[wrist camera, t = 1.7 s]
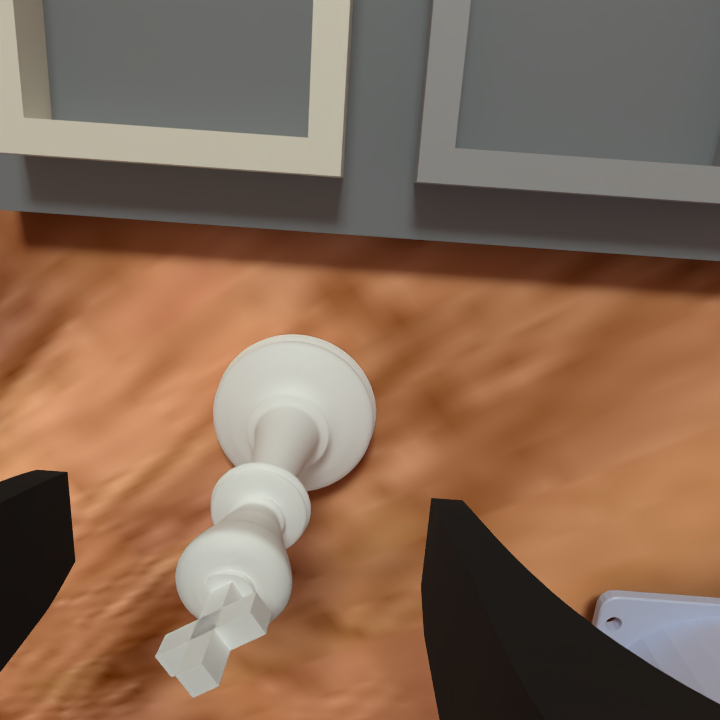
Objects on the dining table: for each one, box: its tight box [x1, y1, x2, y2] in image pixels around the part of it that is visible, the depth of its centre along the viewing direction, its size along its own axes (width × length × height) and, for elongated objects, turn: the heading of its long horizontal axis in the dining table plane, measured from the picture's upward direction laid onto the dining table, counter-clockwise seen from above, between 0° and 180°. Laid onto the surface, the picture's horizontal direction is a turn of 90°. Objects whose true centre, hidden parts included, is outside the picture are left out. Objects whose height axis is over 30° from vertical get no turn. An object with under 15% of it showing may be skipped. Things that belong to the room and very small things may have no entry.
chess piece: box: [155, 334, 376, 698], centre depth 12 cm, size 5×5×10 cm
